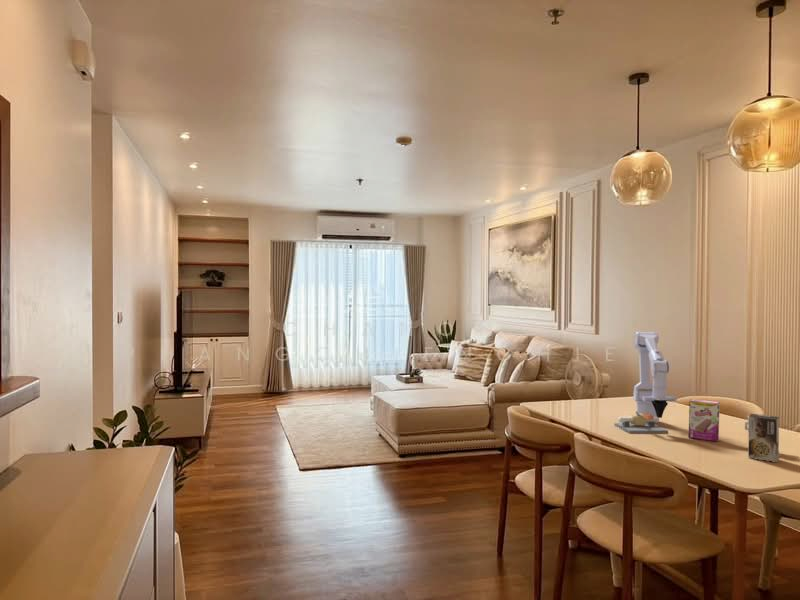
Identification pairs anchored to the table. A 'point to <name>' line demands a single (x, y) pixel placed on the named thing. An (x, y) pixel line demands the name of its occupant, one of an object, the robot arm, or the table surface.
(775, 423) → the coffee box
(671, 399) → the robot arm
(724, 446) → the table surface
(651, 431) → the valve board
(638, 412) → the valve lever
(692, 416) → the candy bar box
